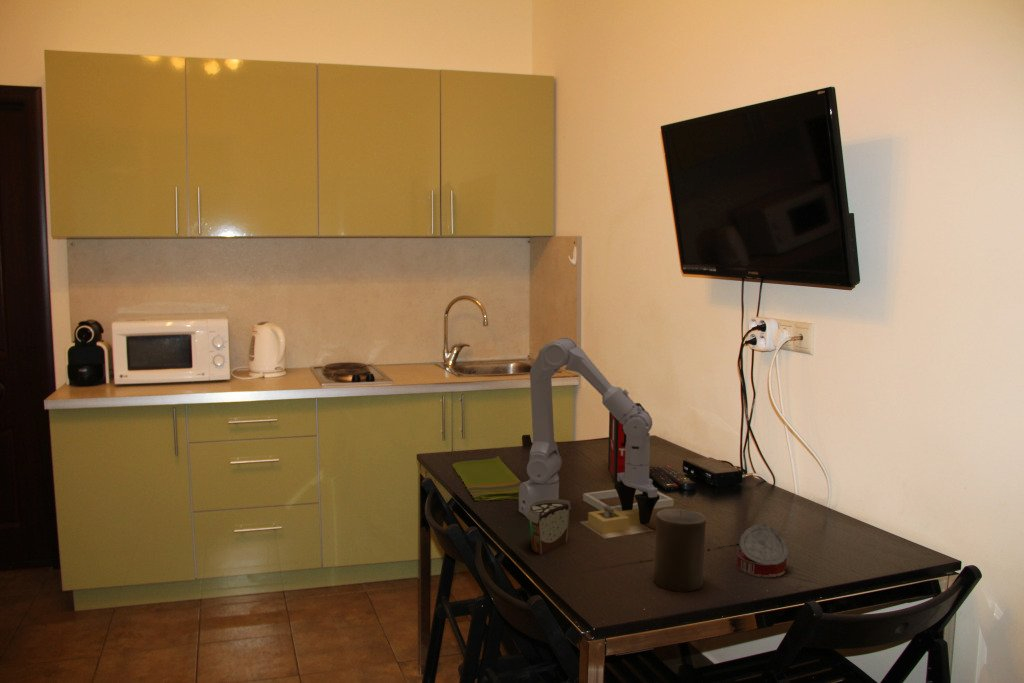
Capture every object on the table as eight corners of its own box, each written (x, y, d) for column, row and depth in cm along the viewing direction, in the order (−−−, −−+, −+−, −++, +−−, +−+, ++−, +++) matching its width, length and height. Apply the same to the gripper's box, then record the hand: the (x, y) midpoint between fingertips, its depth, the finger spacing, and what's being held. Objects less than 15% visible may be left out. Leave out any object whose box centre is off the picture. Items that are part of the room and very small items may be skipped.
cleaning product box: (608, 468, 248) (609, 402, 246) (637, 469, 248) (639, 403, 246) (615, 485, 232) (616, 414, 229) (647, 485, 232) (648, 414, 229)
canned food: (781, 587, 176) (807, 551, 172) (760, 597, 168) (787, 560, 165) (740, 550, 182) (763, 515, 179) (718, 558, 175) (742, 522, 171)
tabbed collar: (602, 534, 191) (603, 521, 190) (587, 524, 197) (588, 512, 197) (650, 526, 196) (651, 514, 196) (634, 517, 202) (635, 505, 202)
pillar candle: (679, 596, 160) (683, 520, 158) (643, 579, 167) (646, 506, 166) (713, 585, 165) (717, 511, 164) (676, 568, 173) (680, 499, 171)
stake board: (604, 541, 188) (605, 518, 187) (579, 525, 199) (579, 502, 198) (653, 533, 193) (653, 511, 193) (625, 518, 204) (626, 496, 204)
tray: (608, 518, 204) (608, 508, 204) (582, 502, 216) (583, 493, 215) (673, 508, 212) (673, 499, 211) (645, 494, 223) (645, 485, 223)
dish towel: (475, 504, 215) (475, 492, 215) (451, 468, 250) (451, 457, 249) (532, 500, 219) (532, 488, 219) (500, 465, 254) (500, 454, 253)
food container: (548, 537, 191) (549, 495, 190) (570, 543, 187) (571, 500, 186) (514, 552, 181) (514, 508, 180) (536, 559, 177) (537, 514, 176)
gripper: (669, 468, 192) (667, 525, 193) (635, 453, 205) (633, 507, 206) (643, 471, 189) (641, 529, 190) (610, 456, 202) (609, 510, 203)
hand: (635, 518), depth 198 cm, fingers open, 7 cm apart
